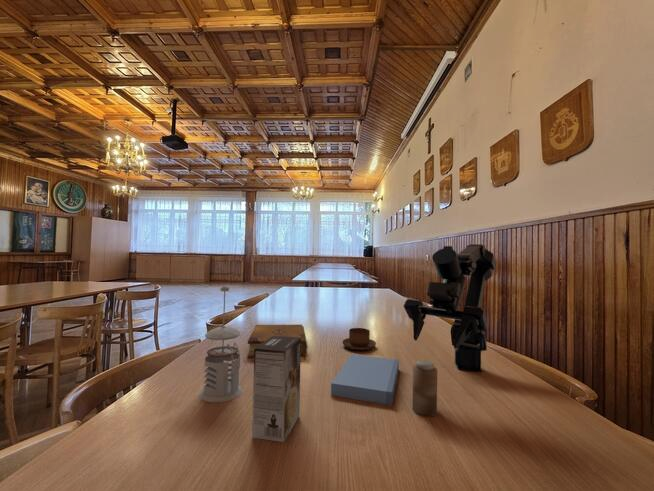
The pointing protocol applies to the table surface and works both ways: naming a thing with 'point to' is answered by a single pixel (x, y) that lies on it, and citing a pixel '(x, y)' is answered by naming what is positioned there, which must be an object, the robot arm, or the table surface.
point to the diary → (267, 331)
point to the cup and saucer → (359, 339)
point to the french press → (222, 365)
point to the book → (367, 379)
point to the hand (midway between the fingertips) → (433, 343)
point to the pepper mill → (425, 389)
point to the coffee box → (276, 387)
